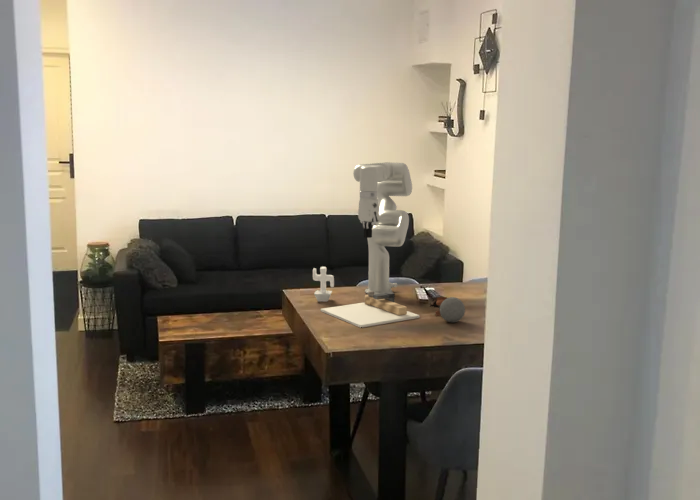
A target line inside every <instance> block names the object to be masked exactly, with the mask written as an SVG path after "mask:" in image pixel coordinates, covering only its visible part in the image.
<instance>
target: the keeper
mask: <svg viewBox="0 0 700 500" xmlns="http://www.w3.org/2000/svg"><path fill="white" fill-rule="evenodd" d="M373 298H374V299H377V300H379V299H385V300H388V301H391V302H394V303H395V293H394V292H393V291H392V292H386V293H382V294H375V295H373Z"/></svg>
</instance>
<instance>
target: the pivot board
mask: <svg viewBox="0 0 700 500" xmlns="http://www.w3.org/2000/svg"><path fill="white" fill-rule="evenodd" d="M320 312H321V313H324V314H327V315H329V316H332V317H333V318H336V319H339V320H341V321H343V322H345V323H348V324H350V325H352V326H356V327H358V328H360V329H361V327H362V328H366V327H367V328H368V327H373V326H378V325H384V324H390V323H397V322H402V321H407V320H414V319H420V314H417V313H414V312H412V311H408V310H407V314H404V315H397V314H394V313H391V312H388V311H386V310H383V309H380V308H377V307H374V306H372V305H367V304H365V301H364V302H358V303H349V304H345V305H337V306H331V307H324V308H320Z"/></svg>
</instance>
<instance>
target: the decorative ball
mask: <svg viewBox="0 0 700 500" xmlns="http://www.w3.org/2000/svg"><path fill="white" fill-rule="evenodd" d="M465 313H466V308H465V304H464V303H463V301H462V300H461V299H459V298H457V297H453V296H452V297H451V296H450V297H447V299H445V300H444V301H443V302H442V303H441V305H440V314H441V318H442V319H443V320H444V321H446V322H448V323H457V322H459V321H460V320H462V319H463V317H464V316H465Z"/></svg>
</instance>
